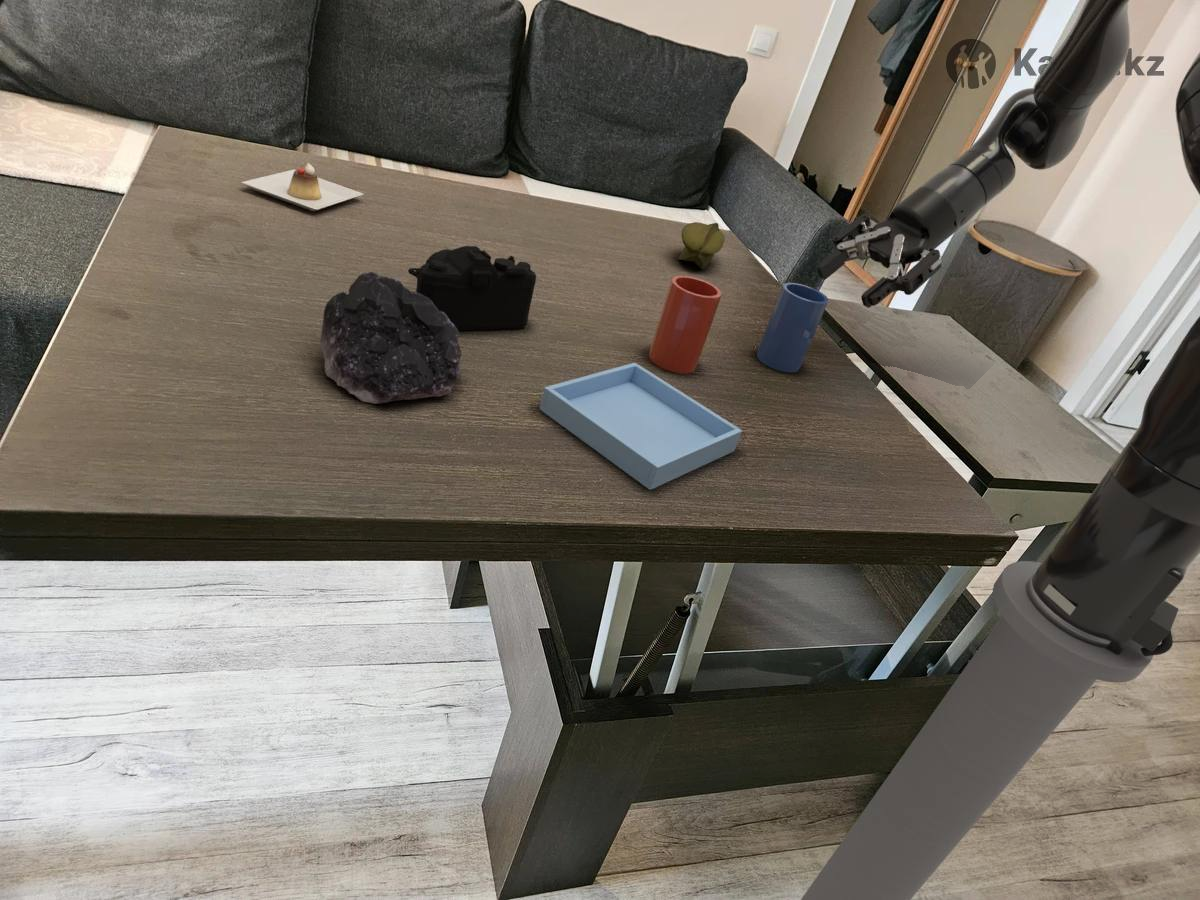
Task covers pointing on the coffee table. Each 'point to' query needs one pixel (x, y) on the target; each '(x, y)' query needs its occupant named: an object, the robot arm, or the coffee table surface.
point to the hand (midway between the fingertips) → (841, 288)
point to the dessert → (302, 189)
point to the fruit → (701, 243)
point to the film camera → (477, 288)
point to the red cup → (684, 324)
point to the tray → (640, 423)
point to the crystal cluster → (388, 342)
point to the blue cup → (791, 327)
